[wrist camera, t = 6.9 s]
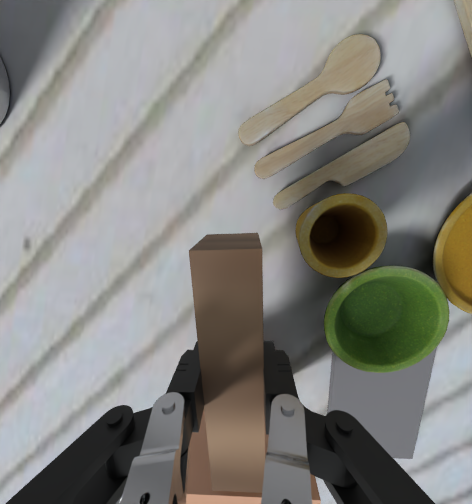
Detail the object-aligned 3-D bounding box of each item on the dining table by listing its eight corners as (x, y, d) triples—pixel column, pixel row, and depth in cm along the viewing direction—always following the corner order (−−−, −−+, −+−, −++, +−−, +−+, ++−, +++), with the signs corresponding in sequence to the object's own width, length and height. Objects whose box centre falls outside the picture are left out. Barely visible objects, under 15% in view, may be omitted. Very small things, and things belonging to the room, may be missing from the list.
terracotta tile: (198, 355, 25) (156, 492, 14) (286, 356, 25) (320, 500, 13) (200, 377, 26) (161, 524, 14) (285, 378, 25) (317, 533, 14)
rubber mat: (335, 321, 23) (338, 325, 22) (434, 320, 22) (441, 325, 22) (324, 448, 28) (326, 455, 27) (407, 451, 27) (412, 458, 26)
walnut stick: (207, 234, 13) (188, 250, 9) (258, 232, 13) (262, 248, 9) (220, 420, 16) (212, 490, 12) (261, 421, 16) (265, 492, 12)
